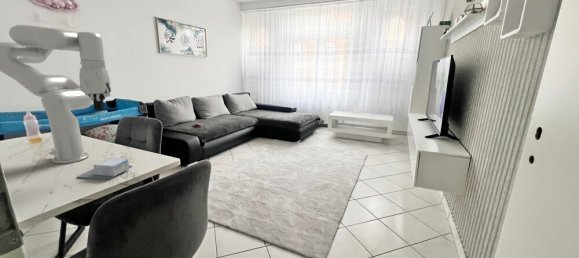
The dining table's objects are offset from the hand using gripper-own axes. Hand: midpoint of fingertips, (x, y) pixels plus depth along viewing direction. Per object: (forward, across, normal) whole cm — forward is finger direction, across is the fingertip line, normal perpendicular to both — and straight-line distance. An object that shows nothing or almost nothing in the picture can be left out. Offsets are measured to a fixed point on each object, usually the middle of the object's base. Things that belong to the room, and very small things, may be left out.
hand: (99, 109), depth 103 cm
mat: (+24, +7, -8) cm, 26 cm away
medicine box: (+21, +6, -8) cm, 23 cm away
